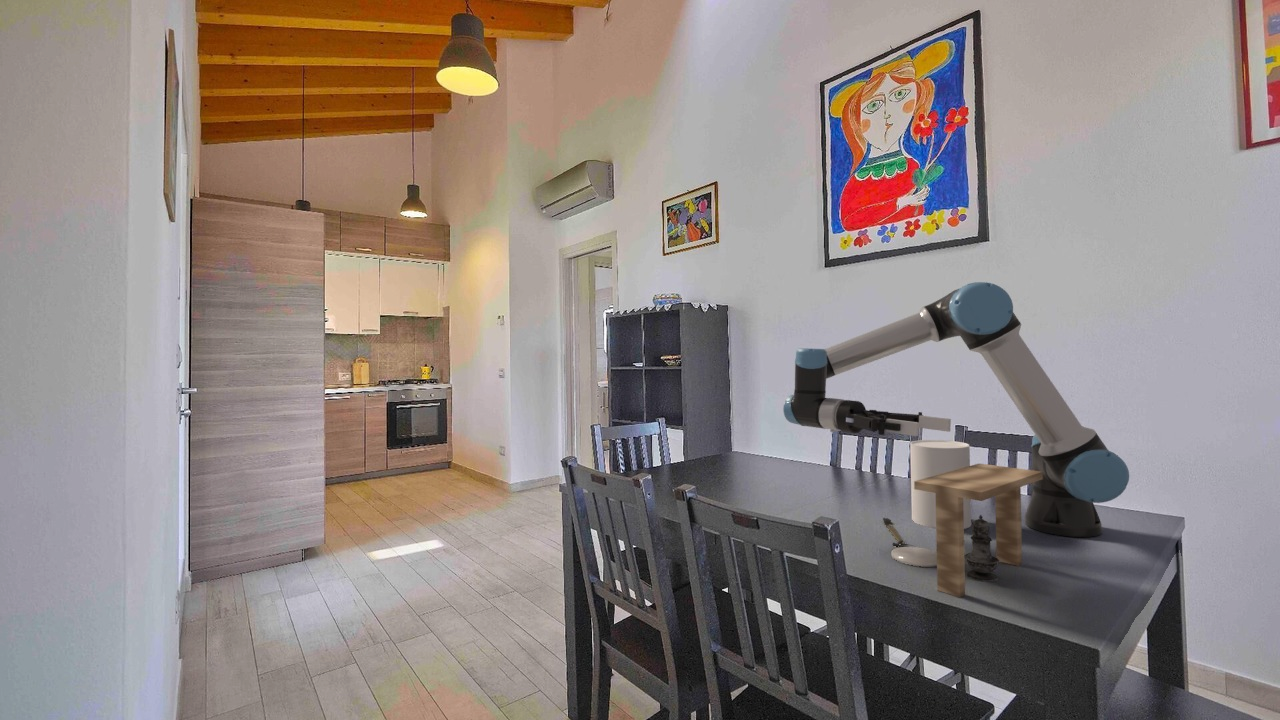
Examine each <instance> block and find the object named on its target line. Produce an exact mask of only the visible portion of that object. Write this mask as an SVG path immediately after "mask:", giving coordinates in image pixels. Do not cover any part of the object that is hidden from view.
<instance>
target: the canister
mask: <svg viewBox="0 0 1280 720" xmlns="http://www.w3.org/2000/svg"><path fill="white" fill-rule="evenodd" d="M909 445H910V446H909V448H910V455H909V456H910V492H911V493H910V494H911V497H910V498H911V520H913V521H914V522H913V521H912V522H913V523H915V524H916V525H919V524H920V525H919V526H922V525H923V527H927V528H930V527H931V528H932V529H936V495H935V493H933V492H927V491H922V490H916V489H914V481H917V480H921V479H925V478H928V477H932V476H935V475H939V474H943V473H946V472H950V471H954V470H957V469H961V468H964V467H968V466H971V459H970V458H971V455H970V450H971V447H970V446H971V445H970V444H969V443H966V442H962V441H954V440H943V439H942V440H941V439H921V440H914V441H913V440H912V441H910V443H909ZM971 500H972V499H967V498H963V511H964V530H966V529H968V528H970V527H971V526H972V514H971V513H972V507H971V506H972V505H971V504H972V503H971V502H972V501H971Z"/></svg>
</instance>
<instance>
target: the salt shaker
mask: <svg viewBox="0 0 1280 720" xmlns="http://www.w3.org/2000/svg"><path fill="white" fill-rule="evenodd" d="M970 540H972V541H971V542H972V548H971V552H968V553H966V554H964V560H965V559H966V564H967V566H968V567H969V568H970V570H969V571H967V572H966V573H965V576H967V577H968V578H970V579H972V580H975V581H978V582H979V581H980V582H984V583H985V582H987V583H988V582H989V583H990V582H991V583H992V582H996V581H997V582H998V579H999V578H998V576H997V575H996V574H994V573H993V572H994V571H996V570H997V567H998V563H1000V561H999V559H998V558H996V556H994V555H993V554H992V552H991V542H992V541H993V539H992V538H991V537H990V523H989V522H988V521H987V520H985V519H984V518H983V515H982V514H980V515H979V516H978V519H975V520H974V521H972V535H971V537H970Z"/></svg>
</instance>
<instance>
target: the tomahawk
mask: <svg viewBox="0 0 1280 720" xmlns="http://www.w3.org/2000/svg"><path fill="white" fill-rule="evenodd" d="M882 520H883V524H884V526H885V525H886V526H885V527H886V529H887V528H888V529H889V530H888V529H887V530H888V531H889V533H890V532H891V533H892V534H891V533H890V534H891V536H892V537H893V536H894V537H895V538H894V537H893V538H894V540H895V541H896V540H897V541H898V542H897V541H896V542H897V543H896V542H892V544H891V545H892V547H893V546H896V547H895V548H900V547H909V546H910V545H909V544H907V543H906V544H905V542H906V541H903V538H902V537H901V535H900V534H899V533H898V531H897V530H896V529H895V527H894V526H893V525H892V519H890V518H887V517H886V518H885V517H883V518H882ZM891 525H892V526H891ZM899 544H901V545H899ZM898 546H899V547H898Z"/></svg>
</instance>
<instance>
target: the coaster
mask: <svg viewBox="0 0 1280 720" xmlns="http://www.w3.org/2000/svg"><path fill="white" fill-rule="evenodd" d="M890 556H891V558H892V559H893V560H894V559H895V560H894V561H896V560H897V562H898V561H900V562H902V563H901V564H903V563H905V564H904V565H907V564H909V565H908V566H911V565H913V567H919V566H921V567H922V568H931V567H933V568H934V567H937V551H935V550H932V549H929V548H924V547H919V546H918V547H917V546H915V547H914V546H910V547H894V548H893V549H892V550H891V555H890ZM900 562H899V563H900ZM921 567H920V568H921Z"/></svg>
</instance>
